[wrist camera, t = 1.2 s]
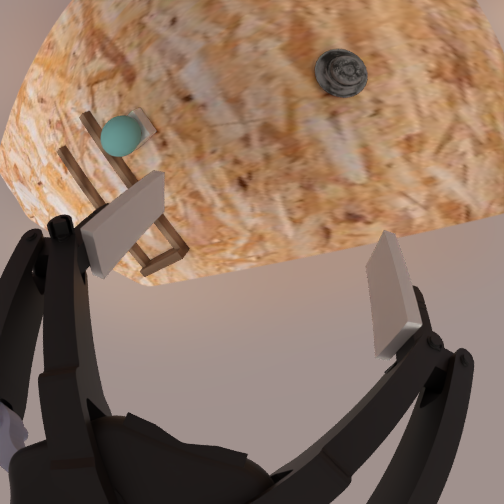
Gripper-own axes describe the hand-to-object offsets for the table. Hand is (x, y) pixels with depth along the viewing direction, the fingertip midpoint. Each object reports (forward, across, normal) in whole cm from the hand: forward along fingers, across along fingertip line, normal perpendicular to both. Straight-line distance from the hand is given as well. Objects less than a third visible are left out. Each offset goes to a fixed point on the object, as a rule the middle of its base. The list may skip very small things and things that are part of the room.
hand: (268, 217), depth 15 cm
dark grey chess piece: (+22, +3, +10) cm, 24 cm away
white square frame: (+22, -23, -3) cm, 32 cm away
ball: (+17, -24, -3) cm, 29 cm away
